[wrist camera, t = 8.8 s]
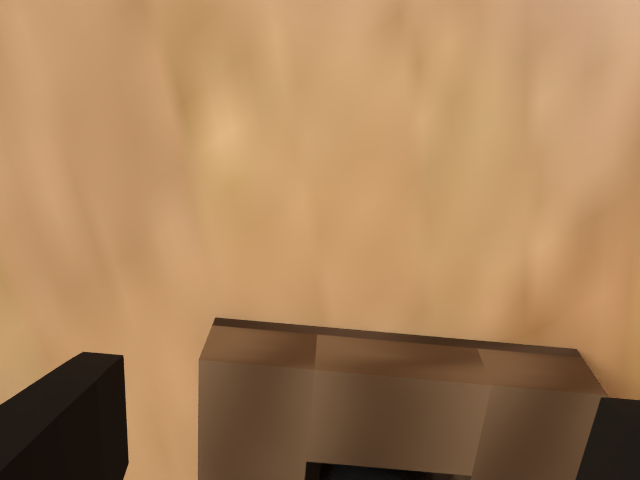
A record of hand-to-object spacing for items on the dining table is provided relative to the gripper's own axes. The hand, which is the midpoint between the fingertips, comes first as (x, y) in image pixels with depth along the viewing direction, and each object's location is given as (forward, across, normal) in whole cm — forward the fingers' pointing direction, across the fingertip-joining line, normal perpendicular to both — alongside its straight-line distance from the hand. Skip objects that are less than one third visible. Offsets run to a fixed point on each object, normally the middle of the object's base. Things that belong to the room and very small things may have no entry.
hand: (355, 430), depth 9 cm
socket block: (+10, -2, +10) cm, 14 cm away
